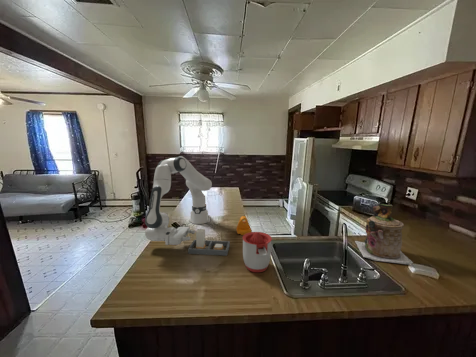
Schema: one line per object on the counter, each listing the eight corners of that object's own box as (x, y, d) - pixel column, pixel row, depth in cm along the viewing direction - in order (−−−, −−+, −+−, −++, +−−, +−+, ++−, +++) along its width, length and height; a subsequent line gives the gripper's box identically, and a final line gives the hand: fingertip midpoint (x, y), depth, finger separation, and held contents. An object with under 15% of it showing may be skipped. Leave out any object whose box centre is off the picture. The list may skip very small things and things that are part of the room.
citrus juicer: (248, 279, 105) (248, 241, 102) (238, 261, 122) (239, 228, 119) (277, 274, 109) (278, 238, 106) (264, 257, 126) (265, 225, 123)
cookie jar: (395, 246, 140) (401, 199, 136) (414, 267, 117) (422, 211, 112) (353, 242, 147) (358, 197, 142) (363, 260, 124) (369, 207, 119)
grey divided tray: (194, 243, 143) (194, 239, 143) (229, 245, 141) (229, 241, 140) (188, 253, 130) (187, 249, 130) (227, 255, 128) (227, 250, 128)
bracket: (237, 235, 158) (237, 219, 156) (236, 231, 165) (236, 216, 163) (251, 234, 159) (252, 219, 157) (250, 230, 166) (250, 215, 164)
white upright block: (197, 245, 139) (197, 228, 137) (206, 246, 139) (206, 228, 137) (194, 250, 133) (194, 232, 132) (204, 250, 133) (203, 232, 131)
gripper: (177, 232, 146) (197, 233, 145) (164, 246, 126) (187, 247, 125) (176, 223, 145) (196, 224, 144) (164, 236, 125) (187, 237, 124)
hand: (192, 235), depth 135 cm, fingers open, 8 cm apart
